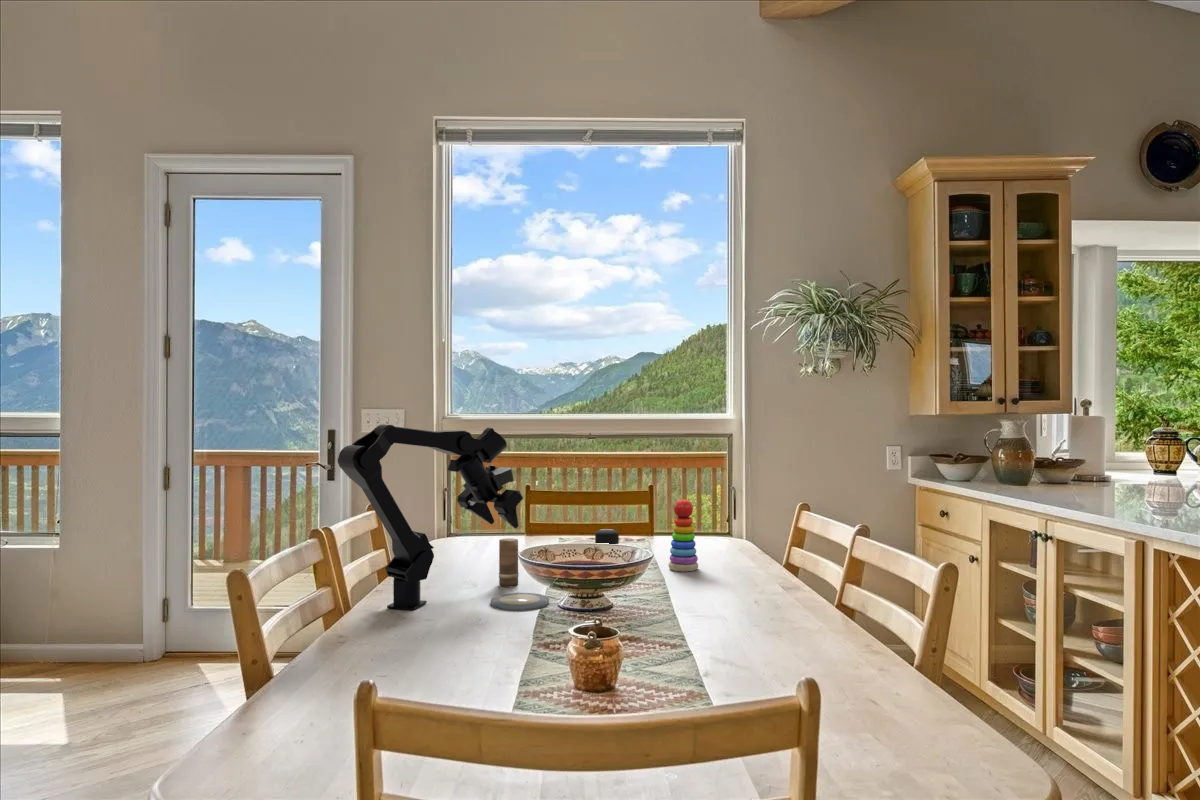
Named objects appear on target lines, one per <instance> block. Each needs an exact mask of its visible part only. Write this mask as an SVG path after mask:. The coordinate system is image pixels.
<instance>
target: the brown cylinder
mask: <svg viewBox="0 0 1200 800" xmlns="http://www.w3.org/2000/svg"><path fill="white" fill-rule="evenodd" d="M498 542H499V543H498V545H499V546H498V548H499V549H498V550H499V551H498V552H499V553H498V555H499V557H498V559H499V560H498V561H499V562H498V565H499V567H498V568H499V569H498V571H499V572H498V580H499V582H498V585H499V586H500V587H504V588H512V587H517V586H518V585H519V575H520V574H519V539H518V538H509V537H508V538H501V539H499V540H498Z"/></svg>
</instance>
